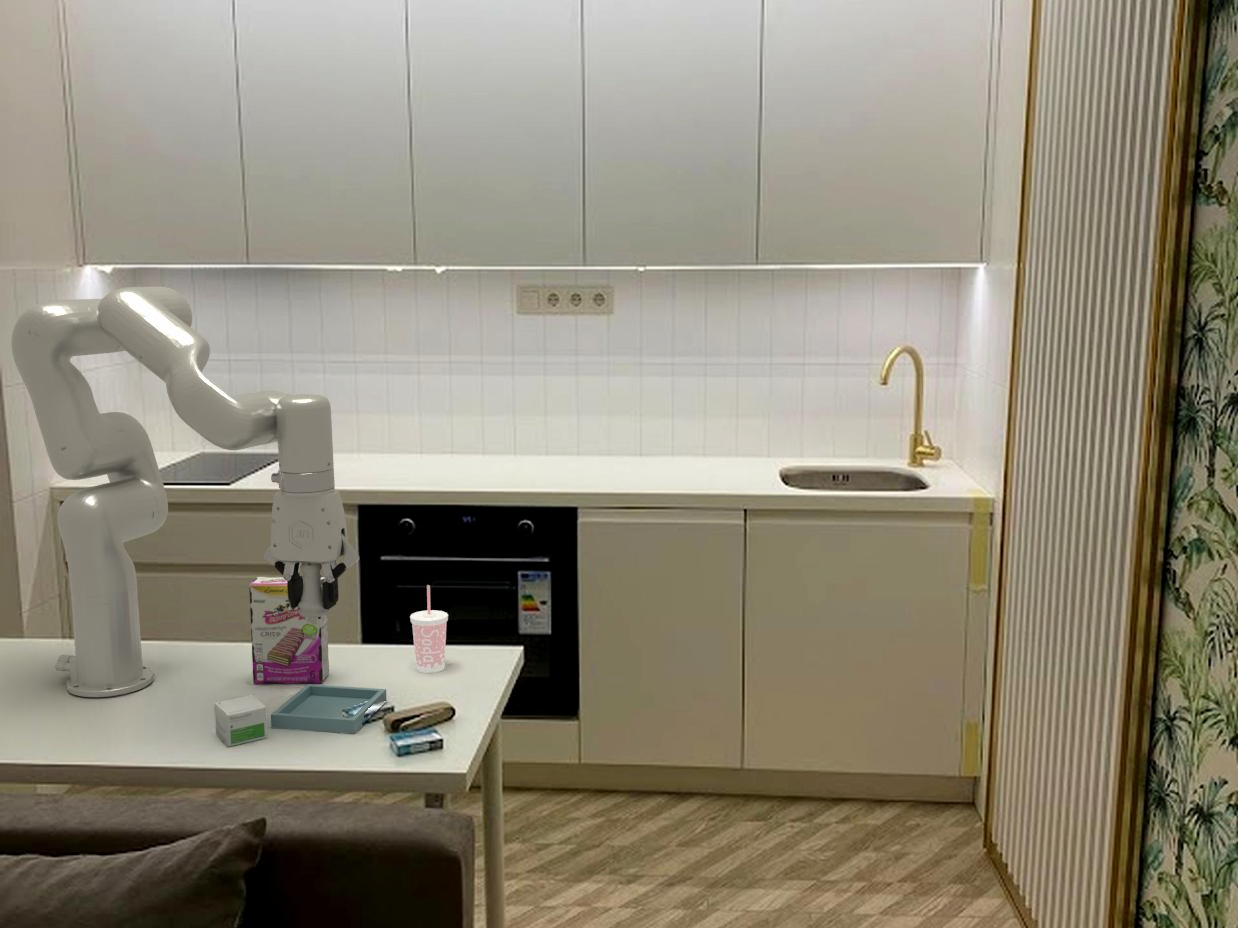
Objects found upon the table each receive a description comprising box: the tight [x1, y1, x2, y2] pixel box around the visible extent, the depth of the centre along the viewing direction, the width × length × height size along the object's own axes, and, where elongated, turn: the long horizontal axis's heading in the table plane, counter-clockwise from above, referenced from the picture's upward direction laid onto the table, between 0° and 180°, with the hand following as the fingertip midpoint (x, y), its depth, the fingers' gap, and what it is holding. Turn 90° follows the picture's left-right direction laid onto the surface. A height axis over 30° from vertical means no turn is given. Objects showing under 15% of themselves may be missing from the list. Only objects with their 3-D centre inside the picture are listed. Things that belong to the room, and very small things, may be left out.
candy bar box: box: [248, 576, 330, 685], centre depth 189 cm, size 11×5×16 cm, turn 92°
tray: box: [270, 683, 387, 735], centre depth 176 cm, size 13×13×2 cm
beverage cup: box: [409, 584, 449, 674], centre depth 195 cm, size 6×6×14 cm
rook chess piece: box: [298, 563, 330, 618], centre depth 172 cm, size 4×4×8 cm
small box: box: [213, 694, 268, 748], centre depth 167 cm, size 6×6×5 cm
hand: (313, 604), depth 173 cm, fingers closed on rook chess piece, 4 cm apart
